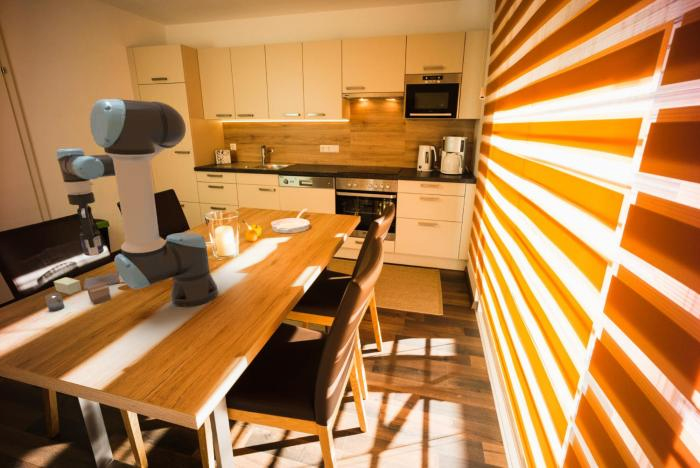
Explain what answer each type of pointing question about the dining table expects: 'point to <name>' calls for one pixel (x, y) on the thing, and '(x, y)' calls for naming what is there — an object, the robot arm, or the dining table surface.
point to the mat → (102, 280)
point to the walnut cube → (99, 293)
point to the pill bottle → (97, 238)
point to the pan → (291, 224)
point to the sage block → (67, 285)
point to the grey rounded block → (54, 302)
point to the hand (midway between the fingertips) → (94, 252)
